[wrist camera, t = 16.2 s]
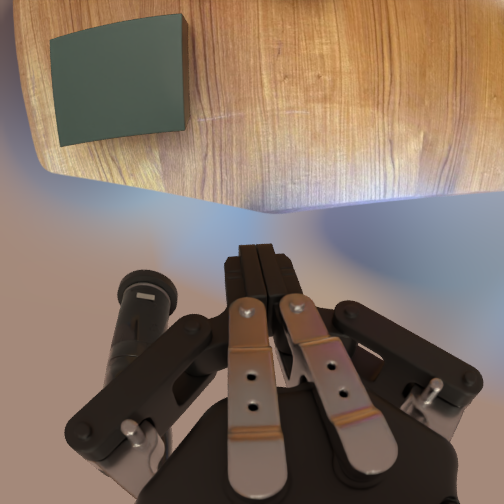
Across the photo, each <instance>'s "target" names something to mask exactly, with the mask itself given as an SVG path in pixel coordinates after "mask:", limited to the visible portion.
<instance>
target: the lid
mask: <svg viewBox="0 0 504 504" xmlns="http://www.w3.org/2000/svg"><path fill="white" fill-rule="evenodd" d="M50 59H51V75H52V87H53V97H54V106H55V114H56V122H57V129H58V135H59V142H60V147H63V146H69V145H74V144H80V143H85V142H91V141H98V140H104V139H111V138H118V137H126V136H134V135H142V134H151V133H162V132H173V131H184V130H185V108H184V82H183V15H182V14H171V15H162V16H154V17H146V18H140V19H134V20H128V21H122V22H117V23H112V24H107V25H103V26H98V27H94V28H90V29H86V30H82V31H78V32H74V33H71V34H67V35H64V36H60V37H57V38H54V39H51V40H50Z"/></svg>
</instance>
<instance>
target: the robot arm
mask: <svg viewBox="0 0 504 504" xmlns="http://www.w3.org/2000/svg"><path fill="white" fill-rule="evenodd" d="M224 270H225V287H226V288H225V289H226V300H227V308H226V309H225V311H224V312H223V313H221V314H220V315H219V316H216V317H214V318H211V319H207V318H206V317H204V316H202V315H199V314H189V315H186V316H183V317H182V318H180V319H179V320H178V321H177V322H175V323H174V324H173V325H172V326H171V327H170V328H169V329H167V328H168V319H169V310H170V305H171V300H170V296H169V294H168V293H167V291H166V290H165V289H164V288H162V287H161V286H159V285H157V284H155V283H152V282H147V281H140V282H135V283H133V284H131V285H129V286H128V287H127V288H126V289H125V291H124V294H123V299H122V304H121V308H120V311H119V315H118V319H117V323H116V327H115V331H114V336H113V340H112V344H111V349H110V354H109V359H108V363H107V369H106V374H105V380H104V386H103V389H102V390H101V391H100V392H99V393H98V394H97V395H96V396H95V397H94V398H93V399H92V400H90V401H89V402H88V403H87V404H86V405H85V406H84V407H83V408H82V409H81V410H80V411H78V412H77V413H76V414H75V415H74V416H73V417H72V418H71V419H70V420H69V421H68V423H67V424H66V427H65V432H64V433H65V439H66V441H67V443H68V444H69V446H70V447H72V448H73V449H74V450H75V451H76V452H77V453H78V454H80V455H81V456H82V457H83V458H84V459H85V460H87V461H88V462H89V463H90V464H92V465H93V466H94V467H96V468H97V469H98V470H99V471H101V472H102V473H103V474H105V475H106V476H108V477H111V478H112V479H113V480H114V481H115V482H116V483H117V484H119V485H120V486H121V487H122V488H123V489H124V490H126V491H127V492H128V493H129V494H130V495H132V496H133V497H134V498H135V499H137V500H136V502H135V503H134V504H460V503H459V500H458V497H457V487H456V486H457V485H456V482H457V471H458V458H457V454H456V451H455V449H454V448H453V446H452V444H451V443H450V441H451V439H452V437H453V434H454V432H455V430H456V428H457V426H458V424H459V421H460V419H461V417H462V414H463V412H464V410H465V409H466V408H467V406H468V405H469V404H470V403H471V402H472V400H473V399H474V398H475V397H476V395H477V394H478V393H479V392H480V391H481V389H482V388H483V378H482V376H481V374H480V372H479V371H478V370H477V369H476V368H474V367H472V366H471V365H469V364H467V363H465V362H464V361H462V360H460V359H458V358H457V357H455V356H453V355H451V354H450V353H448V352H446V351H444V350H442V349H441V348H439V347H437V346H435V345H434V344H432V343H430V342H428V341H426V340H425V339H423V338H421V337H419V336H418V335H415V334H414V333H412V332H410V331H409V330H407V329H405V328H403V327H401V326H400V325H398V324H396V323H394V322H393V321H391V320H389V319H387V318H385V317H384V316H382V315H380V314H378V313H376V312H375V311H373V310H371V309H369V308H367V307H366V306H364V305H362V304H360V303H358V302H355V301H350V300H347V301H342V302H340V303H338V304H337V305H336V307H335V309H334V310H333V309H325V308H319V307H316V306H315V304H314V302H313V301H312V300H311V299H310V298H309V297H307V296H305V295H303V292H302V289H301V287H300V284H299V281H298V278H297V276H296V273H295V270H294V269H293V265H292V262H291V260H290V259H289V258H288V257H287V256H286V255H285V254H275V252H274V249H273V245H272V244H256V245H254V244H252V245H239V256H234V257H228V258H227V260H226V262H225V263H224ZM271 336H273V338H274V343H275V352H276V355H277V358H278V361H279V364H280V367H281V371H282V373H283V377H284V380H285V383H286V387H287V388H286V387H276V379H275V371H274V361H273V353H272V347H271V346H270V345H269V337H271ZM358 343H360V344H362V345H363V346H365V347H367V348H369V349H370V350H372V351H373V352H375V353H377V354H379V355H380V356H381V357H382V358H383V360H384V361H383V360H381V359H380V358H378V357H376V356H375V355H373V354H371V353H370V352H368V351H366V350H365V349H363V348H361V347H359V346H358ZM227 367H228V397H226V398H225V399H222V400H220V401H218V402H217V403H215V404H214V405H212V406H211V407H210V408H209V409H208V410H207V411H206V412H205V413H204V414H203V416H202V417H201V418H200V419H199V421H198V422H197V423H196V424H195V426H194V427H193V428H192V429H191V431H190V432H189V433H188V435H187V436H186V437H185V438H184V440H183V441H182V442H181V443H180V444H179V446H178V447H177V448H176V450H175V451H174V452H173V453H172V428H171V426H172V425H173V424H174V423H175V422H176V421H177V419H178V418H179V417H180V416H181V415H182V414H183V413H184V412H185V411H186V409H187V408H188V407H189V406H190V405H191V404H192V402H193V401H194V400H195V399H196V398H197V397H198V396H199V395H200V394H201V392H202V391H203V390H204V389H205V388H206V387H207V386H208V384H209V383H210V382H211V381H212V380H213V379H214V377H215V376H216V373H217V371H219V370H222V369H225V368H227Z"/></svg>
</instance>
